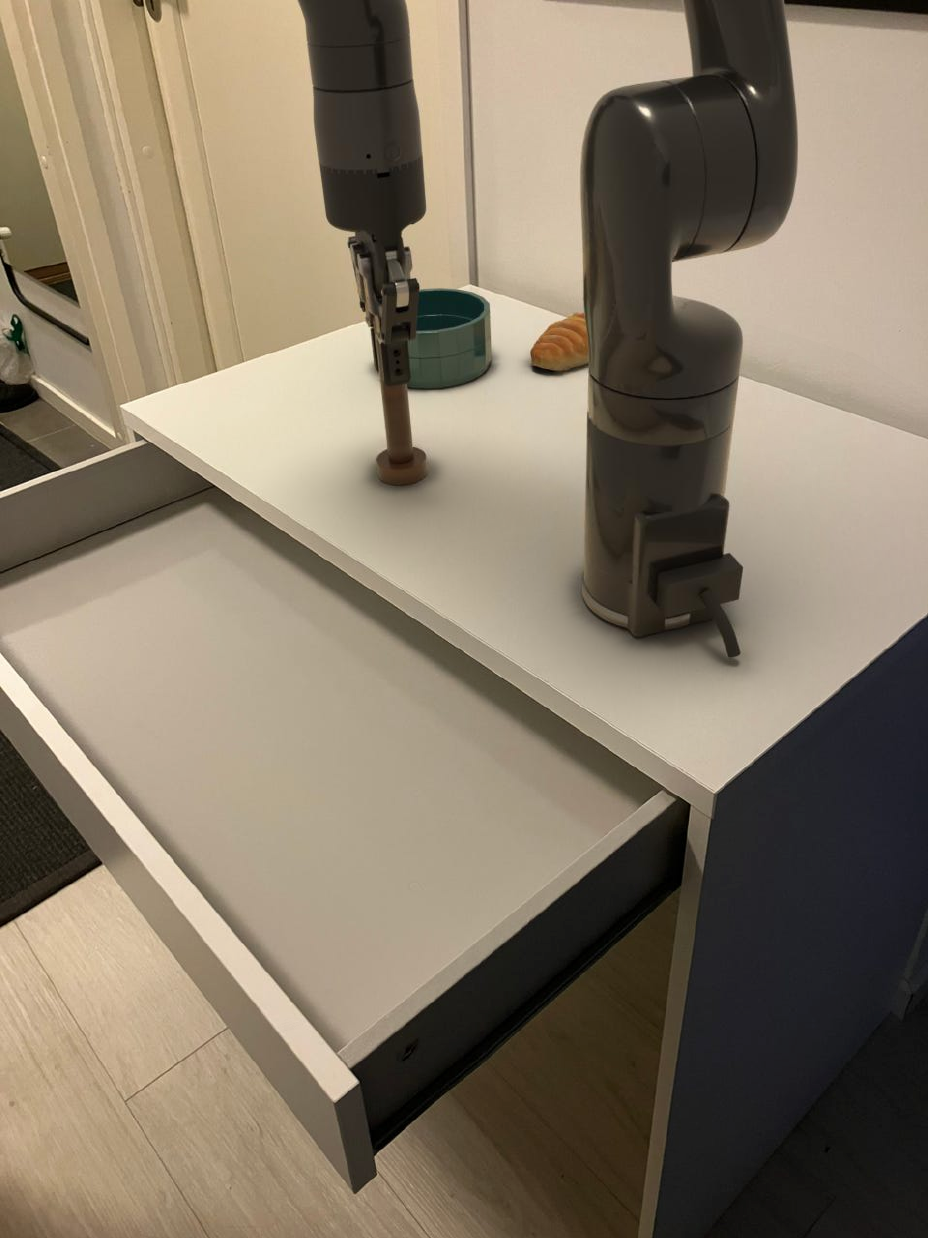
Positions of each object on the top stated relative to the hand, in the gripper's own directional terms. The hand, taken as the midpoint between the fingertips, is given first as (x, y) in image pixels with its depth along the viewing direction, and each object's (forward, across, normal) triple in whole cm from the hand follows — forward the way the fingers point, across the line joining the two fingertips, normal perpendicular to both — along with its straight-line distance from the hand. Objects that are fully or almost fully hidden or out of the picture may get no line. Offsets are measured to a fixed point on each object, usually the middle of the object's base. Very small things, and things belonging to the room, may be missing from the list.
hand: (392, 375), depth 84 cm
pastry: (+9, -17, +23) cm, 30 cm away
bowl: (+9, -21, +9) cm, 25 cm away
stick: (+9, 0, 0) cm, 9 cm away
